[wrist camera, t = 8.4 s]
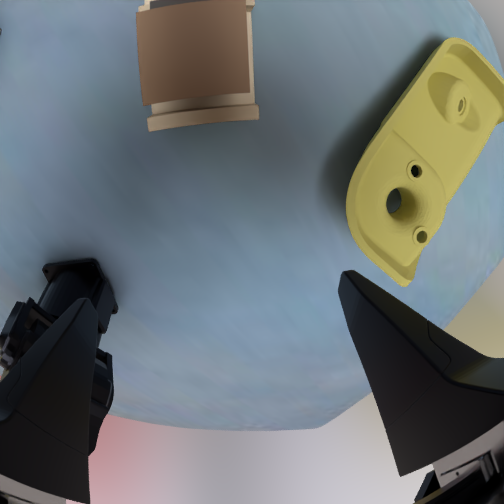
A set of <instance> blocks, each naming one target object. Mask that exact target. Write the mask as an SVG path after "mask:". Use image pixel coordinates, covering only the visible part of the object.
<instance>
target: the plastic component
mask: <svg viewBox="0 0 504 504" xmlns="http://www.w3.org/2000/svg"><path fill="white" fill-rule="evenodd" d="M503 121H504V79H503V78H502V77H501V76H500V74H499V73H498V72H497V71H496V70H495V69H494V67H493V66H492V65H491V64H490V63H489V62H488V61H487V60H486V58H485V57H484V56H483V55H482V54H481V53H480V52H479V51H478V50H477V49H476V48H475V47H474V46H472V45H471V44H470V43H468V42H467V41H465V40H463V39H460V38H448V39H447V40H445V41H444V42H443V43H442V44H441V45H440V46H438V47H437V48H436V49H435V50H434V51H433V52H432V53H431V55H430V56H429V58H428V59H427V61H426V62H425V63H424V65H423V66H422V68H421V69H420V70H419V72H418V73H417V75H416V76H415V77H414V79H413V80H412V81H411V83H410V84H409V86H408V87H407V88H406V90H405V91H404V92H403V94H402V95H401V97H400V98H399V99H398V101H397V102H396V103H395V105H394V106H393V107H392V109H391V110H390V111H389V113H388V114H387V116H386V117H385V118H384V120H383V121H382V122H381V125H380V128H379V129H378V131H377V132H376V133H375V135H374V136H373V138H372V139H371V141H370V142H369V144H368V145H367V147H366V149H365V151H364V153H363V155H362V157H361V159H360V160H359V162H358V164H357V166H356V168H355V171H354V173H353V175H352V178H351V181H350V184H349V187H348V191H347V197H346V217H347V221H348V225H349V229H350V231H351V234H352V236H353V239H354V240H355V242H356V243H357V245H358V247H359V248H360V249H361V250H362V252H363V253H364V254H365V255H366V256H367V257H368V258H369V259H370V260H371V261H372V262H373V263H375V264H376V265H377V266H378V267H379V268H380V269H382V270H383V271H384V272H385V273H386V274H388V275H389V276H390V277H391V278H392V279H393V280H394V281H395V282H397V283H398V284H399V285H400V286H402V287H407V286H408V284H409V283H410V282H411V281H412V280H413V278H414V275H415V271H416V266H417V263H418V260H419V257H420V254H421V252H422V249H423V248H424V247H425V246H426V245H428V243H429V242H430V239H431V238H432V237H433V235H434V234H435V233H436V231H437V230H438V229H439V227H440V225H441V224H442V221H443V219H444V215H445V211H446V206H447V204H448V203H449V201H450V200H451V198H452V197H453V195H454V194H455V193H456V191H457V190H458V188H459V187H460V185H461V183H462V182H463V180H464V179H465V177H466V176H467V174H468V173H469V171H470V169H471V168H472V166H473V164H474V163H475V161H476V159H477V158H478V156H479V154H480V153H481V151H482V149H483V147H484V146H485V144H486V142H487V140H488V138H489V137H490V135H491V133H492V131H493V129H494V127H495V126H496V125H497V124H499V123H501V122H503ZM413 165H416V166H417V167H418V169H419V174H418V176H417V177H414V176H413V175H412V174H411V167H412V166H413ZM395 188H397V189H398V190H399V192H400V194H401V199H402V200H401V205H400V207H399V208H398V210H396V211H395V212H393V213H388V211H387V208H386V200H387V197H388V195H389V193H390V192H391V191H392V190H393V189H395Z"/></svg>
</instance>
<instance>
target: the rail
mask: <svg viewBox="0 0 504 504" xmlns="http://www.w3.org/2000/svg"><path fill="white" fill-rule="evenodd" d="M150 1H154V0H145V5H143V6H139V12H141V11H145V10H150ZM254 6H255V2H254V0H246V13H247V34H248V55H249V77H250V93H238V94H224V95H213V96H204V97H195V98H187V99H180V100H174V101H168V102H162V103H156V104H151V106H152V115H151V116H150V117H148V118H147V123H148V130H149V132H151V131H157V130H162V129H169V128H175V127H182V126H190V125H198V124H207V123H216V122H228V121H241V120H259V105H257V104H255V98H254V72H253V47H252V24H251V11H252V9H253V7H254Z"/></svg>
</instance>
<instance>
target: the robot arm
mask: <svg viewBox="0 0 504 504" xmlns="http://www.w3.org/2000/svg"><path fill="white" fill-rule="evenodd" d="M91 264H93V265H94V266H93V265H91ZM42 271H43V273H44V275H45V277H46V279H47V281H48V284H47V286H46V288H45V290H44V291H43V293H42V295H41V297H40V299H39V301H38V303H37V304H36V303H35V302H34V300H33V299H32V298H31V297H29V299H28V300H27V302H26V303H25V302H18V301H17V302H16V304H15V306H14V308H13V309H12V311H11V313H10V315H9V317H8V319H7V321H6V323H5V325H4V327H3V330H2V332H1V334H0V349H1V350H0V355H1V356H0V366H2V367H3V368H4V371H3V374H2V377H1V380H0V504H66V499H69V500H72V501H76V502H80V503H85V504H90V491H89V471H88V470H89V469H88V456H89V455H90V454H91V453H92V452H93V451H94V450H95V447H96V442H97V438H98V433H99V430H100V427H101V425H102V422H103V419H104V418H105V416H106V415H107V413H108V411H109V410H110V407H111V405H112V401H113V396H114V385H113V368H112V355H111V354H109V353H107V352H104V351H102V350H101V349H99V348H98V347H99V343H100V339H101V335H102V334H105V333H106V331H107V328H108V324H109V320H110V317H111V314H116V313H117V312H118V306H117V304H116V302H115V298H114V296H113V294H112V292H111V290H110V287H109V285H108V283H107V281H106V280H105V278H104V276H103V274H102V271H101V269H100V267H99V264H98V262H97V261H96V260H94V259H86V260H78V261H70V262H62V263H54V264H46V265H44V267H43V269H42ZM338 294H339V298H340V301H341V305H342V308H343V311H344V315H345V319H346V322H347V326H348V329H349V332H350V335H351V337H352V340H353V342H354V345H355V347H356V350H357V352H358V355H359V357H360V360H361V363H362V365H363V368H364V370H365V373H366V376H367V378H368V381H369V384H370V387H371V389H372V392H373V395H374V398H375V400H376V403H377V406H378V409H379V412H380V415H381V418H382V420H383V423H384V427H385V429H386V433H387V436H388V439H389V443H390V445H391V449H392V452H393V455H394V459H395V462H396V466H397V469H398V472H399V475H400V477H401V476H404V475H406V474H409V473H411V472H414V471H416V470H418V469H421V468H423V467H425V466H427V465H429V464H433V467H434V470H432V471H431V472H429V473H427V474H426V477H425V479H424V481H423V483H422V485H421V487H420V490H419V491H418V494H417V496H416V498H415V499H414V501H415V503H413V504H504V358H491V357H487V356H485V355H483V354H481V353H479V352H477V351H476V350H474V349H473V348H471V347H469V346H468V345H466V344H464V343H462V342H461V341H459V340H458V339H456V338H454V337H453V336H451V335H449V334H448V333H446V332H445V331H443V330H442V329H440V328H439V327H437V326H436V325H435V324H433V323H432V322H430V321H429V320H427V319H426V318H424V317H423V316H422V315H420V314H419V313H417V312H416V311H414V310H413V309H412V308H410V307H409V306H407V305H406V304H404V303H403V302H401V301H400V300H398V299H397V298H395V297H394V296H392V295H391V294H389V293H388V292H386V291H385V290H383V289H382V288H380V287H379V286H377V285H376V284H374V283H373V282H371V281H370V280H368V279H367V278H365V277H364V276H362V275H361V274H359V273H358V272H356V271H354V270H348V271H343V272H342V274H341V278H340V283H339V287H338Z"/></svg>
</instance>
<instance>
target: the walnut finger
mask: <svg viewBox="0 0 504 504" xmlns="http://www.w3.org/2000/svg"><path fill="white" fill-rule="evenodd" d="M136 24H137V45H138V59H139V72H140V82H141V92H142V100H143V106H146V105H151V104H156V103H162V102H168V101H174V100H180V99H187V98H195V97H204V96H213V95H224V94H238V93H250V77H249V55H248V34H247V13H246V0H154V1H150V10H145V11H141V12H137V13H136Z"/></svg>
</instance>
